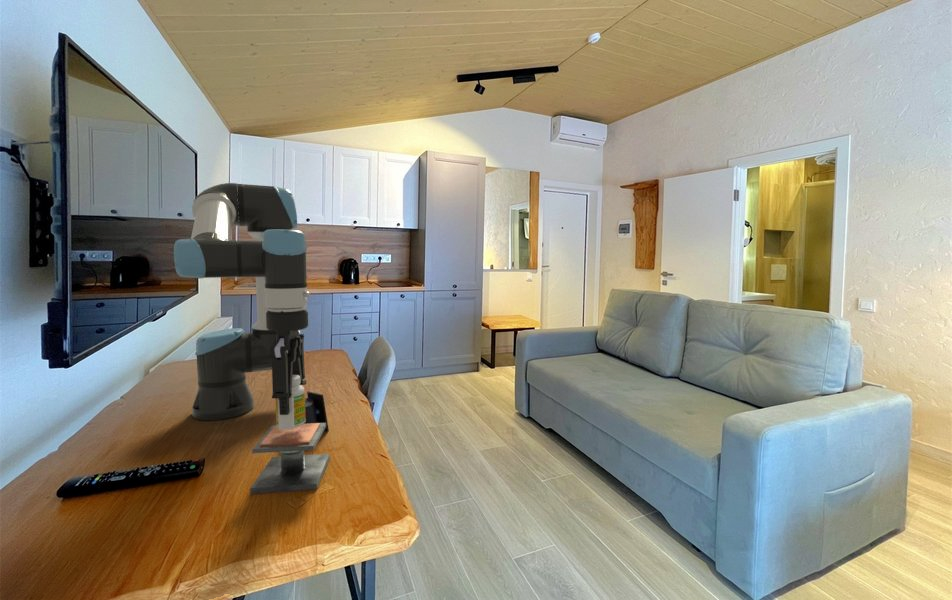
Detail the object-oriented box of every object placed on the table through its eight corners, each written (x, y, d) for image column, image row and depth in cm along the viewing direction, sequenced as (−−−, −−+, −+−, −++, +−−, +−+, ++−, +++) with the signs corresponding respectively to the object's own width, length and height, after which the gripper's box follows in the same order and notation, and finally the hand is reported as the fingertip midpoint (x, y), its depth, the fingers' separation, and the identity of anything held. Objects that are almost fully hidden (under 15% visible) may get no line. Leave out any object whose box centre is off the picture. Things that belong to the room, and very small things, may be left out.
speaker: (320, 423, 108) (315, 387, 106) (329, 431, 104) (324, 394, 102) (290, 434, 103) (285, 396, 101) (299, 443, 99) (293, 404, 96)
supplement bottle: (294, 430, 78) (292, 382, 77) (270, 428, 80) (268, 380, 79) (311, 419, 84) (309, 374, 83) (288, 417, 85) (286, 372, 84)
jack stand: (272, 462, 88) (270, 422, 87) (329, 458, 90) (328, 419, 89) (250, 494, 76) (248, 448, 75) (317, 489, 78) (315, 444, 77)
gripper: (293, 315, 71) (298, 441, 73) (318, 303, 89) (321, 405, 91) (247, 315, 70) (253, 444, 72) (282, 303, 88) (286, 406, 90)
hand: (291, 422), depth 82 cm, fingers closed on supplement bottle, 5 cm apart
